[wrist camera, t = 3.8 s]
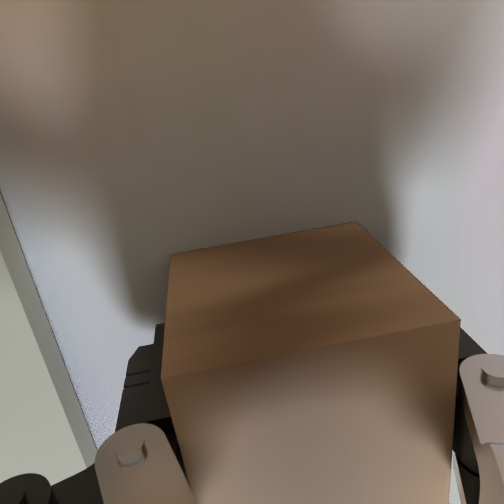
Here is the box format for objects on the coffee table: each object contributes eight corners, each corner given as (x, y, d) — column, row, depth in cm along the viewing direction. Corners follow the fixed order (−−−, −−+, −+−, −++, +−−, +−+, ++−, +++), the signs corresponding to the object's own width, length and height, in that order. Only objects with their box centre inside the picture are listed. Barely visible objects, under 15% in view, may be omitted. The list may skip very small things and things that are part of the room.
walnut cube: (356, 221, 12) (460, 319, 7) (362, 370, 14) (447, 519, 9) (170, 254, 12) (161, 378, 7) (204, 402, 14) (214, 573, 9)
